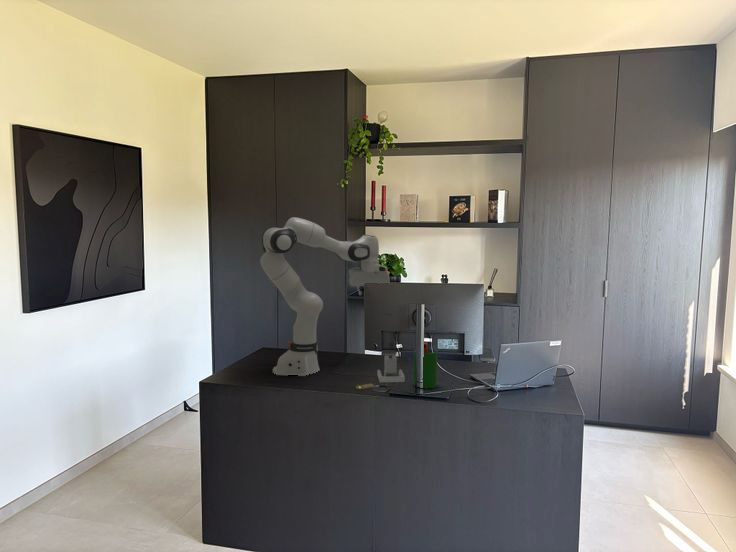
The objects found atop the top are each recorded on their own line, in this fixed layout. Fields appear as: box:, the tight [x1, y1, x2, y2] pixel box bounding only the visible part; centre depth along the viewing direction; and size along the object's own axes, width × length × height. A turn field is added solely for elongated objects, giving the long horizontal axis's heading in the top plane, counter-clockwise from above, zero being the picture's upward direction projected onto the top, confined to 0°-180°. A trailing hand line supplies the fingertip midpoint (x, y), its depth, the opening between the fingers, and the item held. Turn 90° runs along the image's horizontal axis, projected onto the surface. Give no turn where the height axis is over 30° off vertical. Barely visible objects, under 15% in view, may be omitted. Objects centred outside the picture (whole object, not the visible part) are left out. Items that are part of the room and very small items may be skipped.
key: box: [355, 383, 375, 390], centre depth 232 cm, size 8×3×1 cm, turn 119°
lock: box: [383, 353, 398, 376], centre depth 244 cm, size 5×6×11 cm
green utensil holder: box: [413, 342, 439, 390], centre depth 233 cm, size 10×9×20 cm
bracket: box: [376, 369, 406, 384], centre depth 244 cm, size 11×11×2 cm
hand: (369, 294), depth 266 cm, fingers open, 8 cm apart
